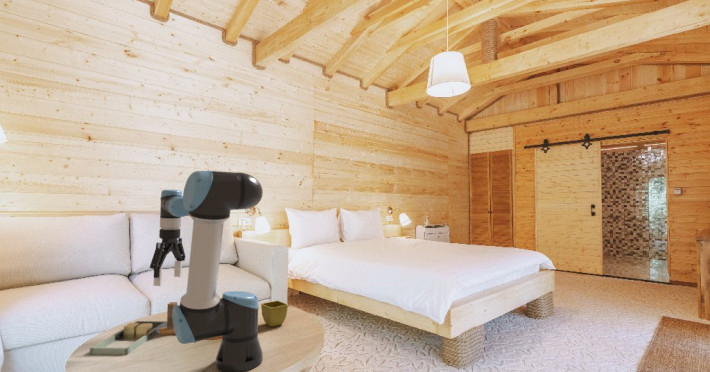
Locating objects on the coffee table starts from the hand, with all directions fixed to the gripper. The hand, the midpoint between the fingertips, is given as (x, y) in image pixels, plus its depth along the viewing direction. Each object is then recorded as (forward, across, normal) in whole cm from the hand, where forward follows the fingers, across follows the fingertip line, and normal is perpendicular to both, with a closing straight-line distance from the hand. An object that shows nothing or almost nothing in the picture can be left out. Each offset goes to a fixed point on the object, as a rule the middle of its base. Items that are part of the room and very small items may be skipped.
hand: (168, 281), depth 149 cm
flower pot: (+21, -17, +39) cm, 48 cm away
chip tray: (+21, +16, -8) cm, 28 cm away
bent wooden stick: (+22, +1, +3) cm, 22 cm away
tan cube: (+21, +5, -11) cm, 24 cm away
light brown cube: (+21, +4, -6) cm, 22 cm away
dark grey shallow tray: (+22, +2, -9) cm, 24 cm away
